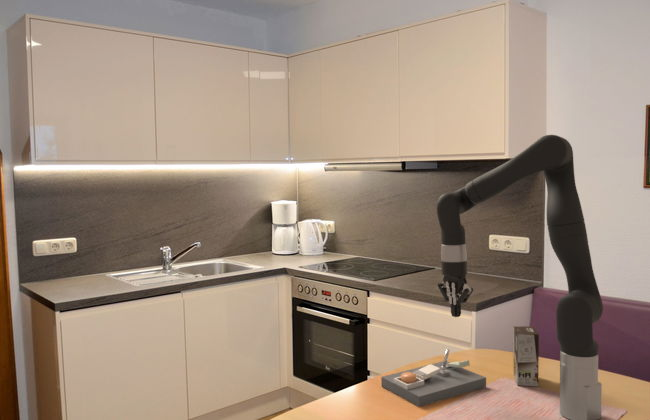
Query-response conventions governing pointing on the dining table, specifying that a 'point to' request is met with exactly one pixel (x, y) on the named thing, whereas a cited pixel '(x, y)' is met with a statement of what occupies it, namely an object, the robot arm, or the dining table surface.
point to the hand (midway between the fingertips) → (456, 316)
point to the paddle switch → (459, 364)
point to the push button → (408, 377)
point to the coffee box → (526, 355)
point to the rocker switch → (427, 372)
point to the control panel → (434, 385)
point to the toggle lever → (445, 360)
